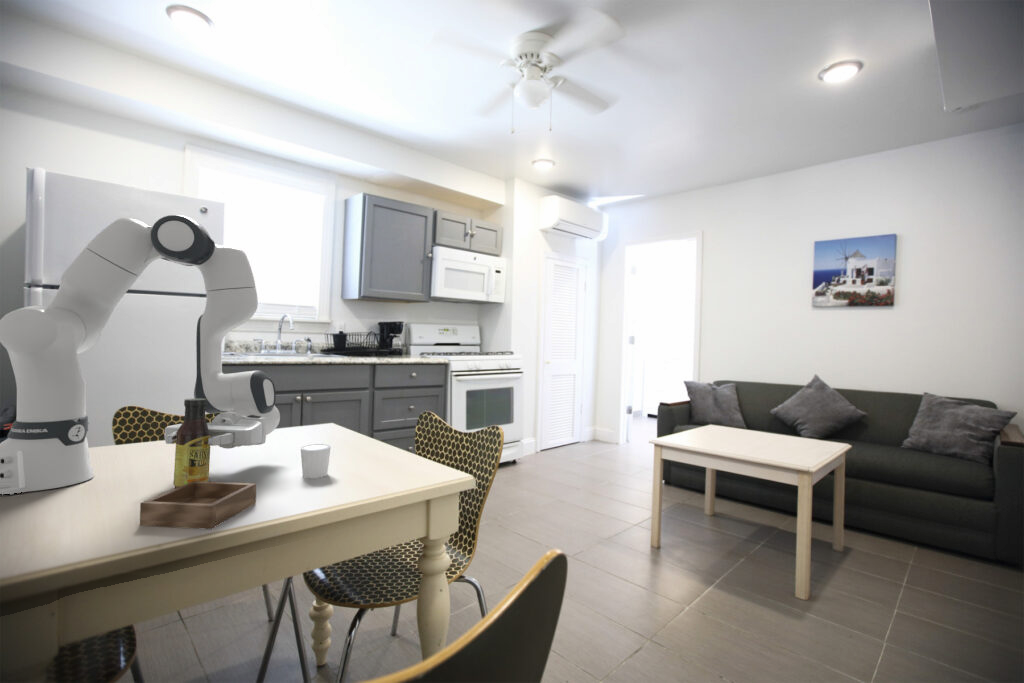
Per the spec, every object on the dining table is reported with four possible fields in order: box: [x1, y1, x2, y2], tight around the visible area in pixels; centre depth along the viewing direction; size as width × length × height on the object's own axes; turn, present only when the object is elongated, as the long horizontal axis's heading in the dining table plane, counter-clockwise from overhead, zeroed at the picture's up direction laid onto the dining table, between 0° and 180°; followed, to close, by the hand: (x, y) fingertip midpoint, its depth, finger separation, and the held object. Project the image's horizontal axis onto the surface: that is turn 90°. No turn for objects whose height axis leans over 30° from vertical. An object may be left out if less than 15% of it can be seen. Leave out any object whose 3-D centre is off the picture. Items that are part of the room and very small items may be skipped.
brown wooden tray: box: [139, 481, 257, 530], centre depth 88 cm, size 13×13×4 cm
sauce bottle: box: [172, 398, 211, 489], centre depth 101 cm, size 7×6×20 cm
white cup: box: [300, 443, 331, 479], centre depth 115 cm, size 7×7×7 cm
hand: (190, 440), depth 100 cm, fingers open, 8 cm apart
